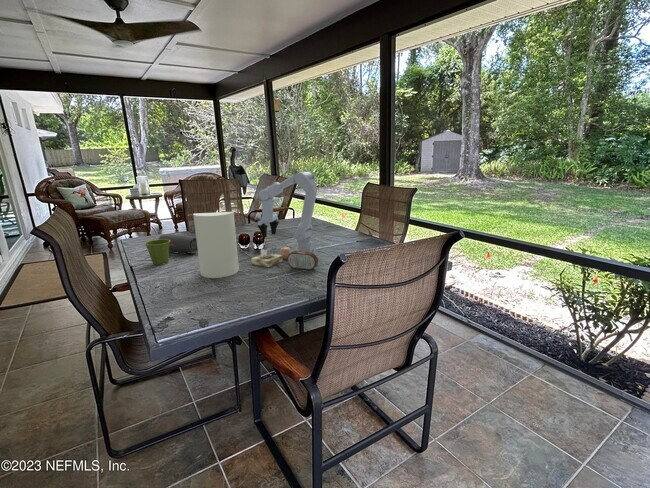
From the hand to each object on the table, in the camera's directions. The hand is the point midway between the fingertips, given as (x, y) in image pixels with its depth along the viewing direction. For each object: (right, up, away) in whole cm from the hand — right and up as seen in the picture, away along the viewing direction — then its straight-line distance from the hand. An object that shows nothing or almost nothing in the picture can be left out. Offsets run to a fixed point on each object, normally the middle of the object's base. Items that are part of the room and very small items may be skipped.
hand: (269, 235), depth 185 cm
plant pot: (-53, -15, -13) cm, 57 cm away
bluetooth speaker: (-51, -10, +5) cm, 52 cm away
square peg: (+2, -14, -15) cm, 21 cm away
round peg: (+10, -12, -8) cm, 17 cm away
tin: (+20, -17, -25) cm, 36 cm away
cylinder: (-19, -18, -27) cm, 37 cm away
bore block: (+2, -14, -15) cm, 21 cm away
